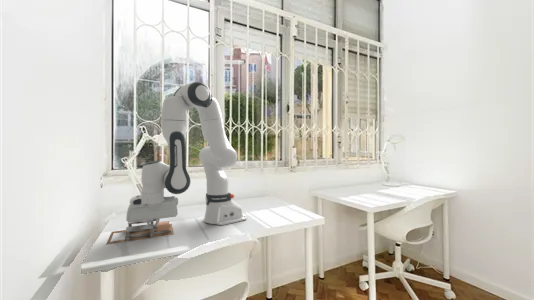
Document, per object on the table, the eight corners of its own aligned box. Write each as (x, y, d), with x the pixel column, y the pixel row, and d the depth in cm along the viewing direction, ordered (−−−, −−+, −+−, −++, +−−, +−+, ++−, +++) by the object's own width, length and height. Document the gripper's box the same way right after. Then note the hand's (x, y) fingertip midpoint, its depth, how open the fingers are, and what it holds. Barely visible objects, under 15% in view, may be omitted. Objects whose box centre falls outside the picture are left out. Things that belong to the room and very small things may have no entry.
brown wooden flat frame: (171, 226, 114) (171, 214, 114) (174, 237, 102) (174, 224, 101) (111, 235, 104) (111, 222, 103) (106, 248, 91) (105, 233, 91)
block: (168, 227, 109) (168, 221, 109) (169, 231, 105) (169, 224, 105) (156, 229, 107) (156, 222, 107) (157, 233, 103) (157, 226, 102)
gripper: (177, 194, 111) (177, 223, 112) (127, 198, 102) (127, 229, 103) (178, 197, 105) (178, 227, 106) (125, 201, 96) (126, 235, 97)
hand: (153, 228), depth 104 cm, fingers closed
